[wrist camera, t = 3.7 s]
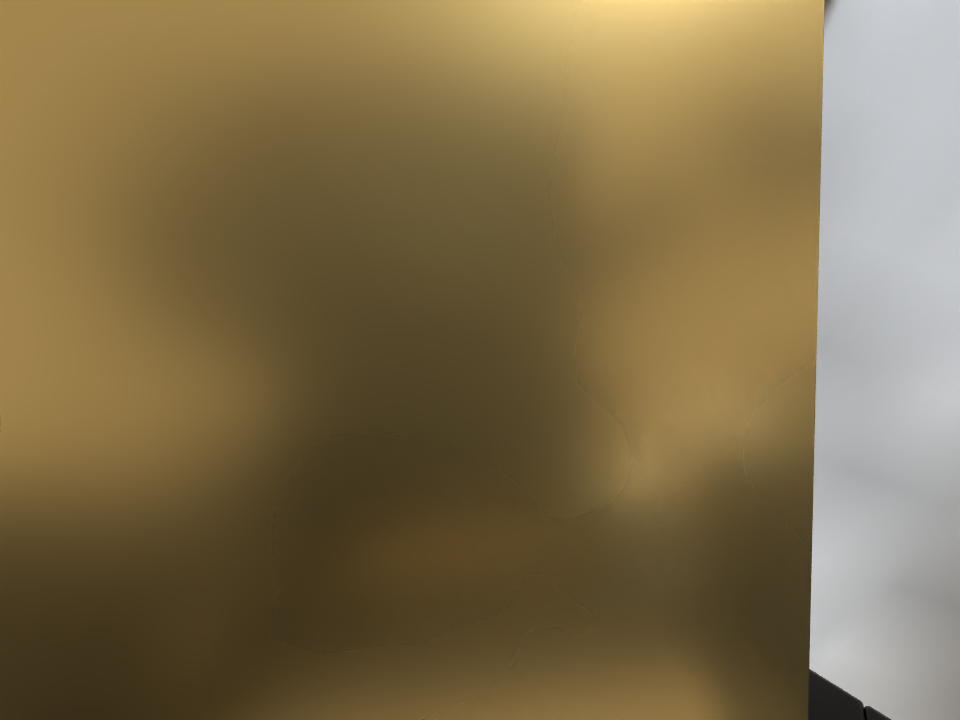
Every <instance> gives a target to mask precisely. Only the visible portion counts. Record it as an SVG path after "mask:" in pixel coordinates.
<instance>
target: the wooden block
mask: <svg viewBox="0 0 960 720" xmlns="http://www.w3.org/2000/svg"><path fill="white" fill-rule="evenodd" d="M824 1H825V0H0V720H808V693H809V650H810V607H811V563H812V520H813V477H814V433H815V390H816V347H817V304H818V260H819V217H820V174H821V130H822V87H823V44H824Z"/></svg>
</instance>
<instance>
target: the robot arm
mask: <svg viewBox="0 0 960 720" xmlns="http://www.w3.org/2000/svg"><path fill="white" fill-rule="evenodd" d="M808 720H891V719H889V718H888V717H886V716H885V715H883V714H881V713H880V712H878V711H877V710H875V709H873V708H872V707H870V706H865V707H864V706H863V703H862V702H861V701H860V700H858V699H857V698H855V697H854V696H852V695H850V694H849V693H847V692H846V691H844V690H842V689H841V688H839V687H837V686H836V685H834V684H833V683H831V682H829V681H828V680H826V679H825V678H823V677H821V676H820V675H818V674H817V673H815V672H813V671H812V670H810V669H809V693H808Z"/></svg>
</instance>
